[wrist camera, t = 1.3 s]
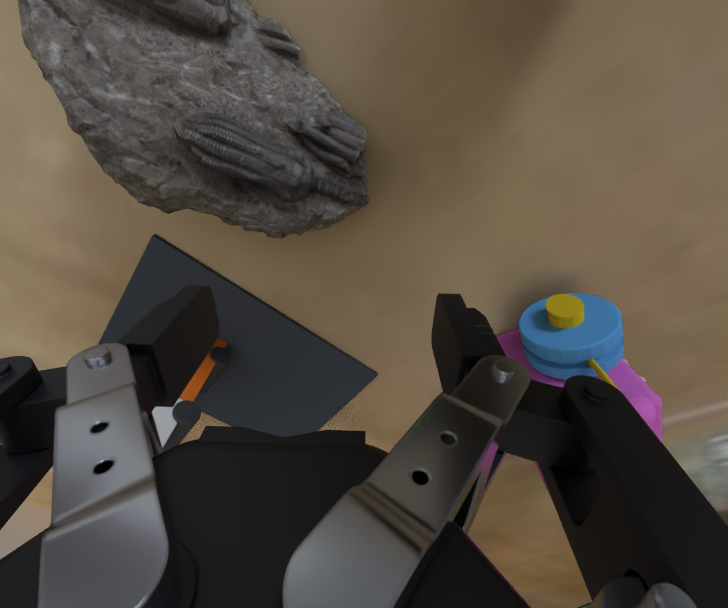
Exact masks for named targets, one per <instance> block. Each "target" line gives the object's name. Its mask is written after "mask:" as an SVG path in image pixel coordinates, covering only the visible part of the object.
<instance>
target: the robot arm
mask: <svg viewBox="0 0 728 608" xmlns="http://www.w3.org/2000/svg"><path fill="white" fill-rule="evenodd" d="M219 330H220V326H219V320H218V315H217V310H216V306H215V301H214V296H213V292H212V289H211V288H210V287H209V286H203V285H185V286H184V287H183V288H182V289H181V290H180V291H179V292H178V293H177V294H176V295H175V296H174V297H173V298H170V299H168V300H166V301H164V302H162V303H160V304H158V305H156V306H155V307H154V308H153V309H152V310H151V311H150V312H149V313H148V314H147V315H145V316H144V317H143V318H142V319H141V320H140V323H137V324H136V325H135V326H134V327H133V328H131V329H130V330H129V331H128V332H127V333H126V334H125V335H124V336H123V337H122V338H121V339H120V340H119V341H117V342H116V343H106V344H101V345H96V346H93V347H90V348H88V349H86V350H83V351H81V352H80V353H78V354H76V355H75V356H74V357H72V358H71V359H70V360H69V362H68V363H67V366H66V367H60V368H54V369H47V370H41V371H38V369H37V368H36V366H35V364H34V362H33V360H32V359H31V358H29V357H25V356H13V357H7V358H3V359H0V443H1V445H0V530H1V529H2V527H3V526H4V525H5V524H6V522H7V521H8V520H9V519H10V517H11V516H12V515H13V514H14V513H15V511H16V510H17V509H18V508H19V506H20V505H21V504H22V503H23V502H24V500H25V499H26V498H27V497H28V495H29V494H30V493H31V492H32V491H33V489H34V488H35V487H36V486H37V484H38V483H39V482H40V481H41V479H42V478H43V477H44V476H45V475H46V473H47V472H48V471H49V470H50V468H51V467H52V466H53V483H52V512H51V513H52V514H51V524H50V527H48V528H47V529H45V530H44V531H42V532H41V533H39V534H38V535H36V536H35V537H34V538H32V539H30V540H29V541H27V542H26V543H25V544H23V545H21V546H20V547H18V548H17V549H16V550H14V551H13V552H11V553H10V554H8V555H7V556H5V557H4V558H2V559H1V560H0V608H531V607H530V606H529V605H528V604H527V603H526V601H525V600H524V599H523V598H522V597H521V596H520V595H519V593H518V592H517V591H516V590H515V589H514V588H513V587H512V586H511V584H510V583H509V582H508V581H507V580H506V579H505V578H504V576H503V575H502V574H501V573H500V572H499V571H498V570H497V569H496V567H495V566H494V565H493V564H492V563H491V562H490V561H489V560H488V558H487V557H486V556H485V555H484V554H483V553H482V552H481V550H480V549H479V548H478V547H477V546H476V545H475V544H474V543H473V541H472V540H471V539H470V538H469V537H468V536H467V534H468V531H469V529H470V527H471V525H472V523H473V520H474V518H475V516H476V513H477V511H478V508H479V506H480V504H481V501H482V499H483V497H484V495H485V493H486V491H487V489H488V488H489V486H490V484H491V482H492V480H493V478H494V476H495V474H496V472H497V470H498V468H499V466H500V464H501V462H502V460H503V458H504V456H505V454H506V453H509V454H512V455H516V456H519V457H522V458H525V459H529V460H532V461H535V462H538V465H539V468H540V470H541V473H542V475H543V478H544V480H545V483H546V485H547V488H548V490H549V493H550V495H551V498H552V500H553V503H554V505H555V508H556V510H557V513H558V515H559V518H560V521H561V523H562V526H563V528H564V531H565V533H566V536H567V538H568V541H569V543H570V546H571V548H572V551H573V553H574V556H575V558H576V561H577V563H578V566H579V568H580V571H581V573H582V576H583V579H584V581H585V584H586V586H587V589H588V591H589V594H590V596H591V599H592V602H591V604H590V605H589V606H588V607H587V608H728V526H727V525H726V523H725V522H724V521H723V520H722V518H721V517H720V516H719V515H718V513H717V512H716V511H715V509H714V508H713V507H712V506H711V504H710V503H709V502H708V501H707V499H706V498H705V497H704V496H703V494H702V493H701V492H700V490H699V489H698V488H697V487H696V485H695V484H694V483H693V482H692V480H691V479H690V478H689V477H688V475H687V474H686V473H685V471H684V470H683V469H682V468H681V466H680V465H679V464H678V463H677V461H676V460H675V459H674V458H673V456H672V455H671V454H670V452H669V451H668V450H667V449H666V447H665V446H664V445H663V444H662V442H661V441H660V440H659V439H658V437H657V436H656V435H655V433H654V432H653V431H652V430H651V428H650V427H649V426H648V425H647V423H646V422H645V421H644V420H643V418H642V417H641V416H640V414H639V413H638V412H637V411H636V409H635V408H634V407H633V406H632V404H631V403H630V402H629V401H628V399H627V398H626V397H625V395H624V394H623V393H622V392H621V391H620V390H618V389H617V388H616V387H614V386H613V385H611V384H609V383H607V382H605V381H603V380H601V379H598V378H595V377H591V376H585V375H576V376H572V377H570V378H568V379H567V380H566V382H565V385H564V387H559V386H555V385H551V384H546V383H542V382H539V381H536V380H533V379H531V375H530V373H529V371H528V370H527V369H526V368H525V367H524V366H523V365H522V364H521V363H519V362H517V361H516V360H513V359H511V358H508V357H507V356H506V354H505V352H504V351H503V349H502V347H501V345H500V343H499V341H498V339H497V338H496V336H495V335H494V332H493V330H492V328H491V327H490V325H489V323H488V321H487V319H486V317H485V316H484V315H483V314H482V313H480V312H479V311H478V310H476V309H475V308H467V307H466V305H465V303H464V301H463V299H462V297H461V295H460V294H441V293H439V294H438V296H437V299H436V306H435V313H434V320H433V327H432V349H433V353H434V357H435V361H436V365H437V369H438V373H439V377H440V381H441V385H442V389H443V392H442V393H440V394H439V395H438V396H437V398H436V399H435V400H434V401H433V402H432V403H431V405H430V406H429V407H428V408H427V409H426V410H425V411H424V413H423V414H422V415H421V416H420V417H419V418H418V420H417V421H416V422H415V423H414V424H413V425H412V427H411V428H410V429H409V430H408V431H407V432H406V434H405V435H404V436H403V437H402V438H401V439H400V441H399V442H398V443H397V444H396V445H395V446H394V448H393V449H392V450H391V451H390V452H389V453H387V452H385V451H384V450H382V449H379V448H377V447H374V446H371V445H368V444H365V431H342V430H323V431H318V432H312V433H306V434H301V435H295V436H289V437H279V436H275V435H272V434H268V433H264V432H261V431H257V430H253V429H249V428H246V427H220V426H206V427H205V429H204V431H203V433H202V435H201V437H200V438H199V439H197V440H193V441H189V442H185V443H182V444H180V445H177V446H174V447H172V448H170V449H168V450H166V451H163V449H162V445H161V441H160V438H159V434H158V430H157V427H156V423H155V419H154V417H153V414H152V411H153V410H154V408H155V407H173V406H174V405H175V403H176V402H177V400H178V399H179V397H180V396H181V394H182V393H183V391H184V390H185V388H186V386H187V385H188V383H189V382H190V380H191V379H192V377H193V376H194V374H195V373H196V371H197V370H198V368H199V367H200V365H201V364H202V362H203V361H204V359H205V358H206V356H207V355H208V353H209V352H210V350H211V349H212V347H213V346H214V344H215V342H216V341H217V339H218V336H219Z"/></svg>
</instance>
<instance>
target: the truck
mask: <svg viewBox="0 0 728 608" xmlns="http://www.w3.org/2000/svg"><path fill="white" fill-rule="evenodd" d="M226 345H227V342H225V341H223V340H221V339H220V338H218V339H217V341H216V342H215V344H214V346H213V347H212V349H211V350H210V352H209V353H208V355H207V356H206V358H205V359H204V361H203V362H202V364H201V365H200V367H199V368H198V370H197V371H196V373H195V374H194V376H193V377H192V379H191V380H190V382H189V383H188V385H187V386H186V388H185V390H184V391H183V393H182V394H181V396H180V397H179V399H178V400H177V402H176V403H175V405H174V406H173V407H155V408H154V410H153V411H152V414H153V417H154V419H155V423H156V427H157V430H158V434H159V438H160V441H161V445H162V449H163V451H166V450H168V449H170V448H172V447H174V446H177V445H179V444H180V442H181V441H182V440H183V439H184V437H185V436H186V435H187V434H188V432H189V431H190V430H191V429H192V427H193V426H194V425H195V424H196V422H197V421H198V420H199V418H200V416H201V410H200V407H199V406H198V405H197V404H196V403H195V402H193V401H194V400H195V398H196V396H197V395H198V394H204V393H206V392H207V391H208V389H209V388H210V387H211V386H212V384H213V383H214V382H215V380H216V379H217V378H218V376H219V375H220V374H221V373H222V371H223V370H224V369H225V367H226V366H227V365H228V363H229V362H230V361H231V354H230V353H229V351H228V350H226V349H225V347H226Z"/></svg>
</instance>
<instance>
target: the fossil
mask: <svg viewBox="0 0 728 608" xmlns="http://www.w3.org/2000/svg"><path fill="white" fill-rule="evenodd" d="M18 4H19V13H20V20H21V25H22V36H23V40H24V44H25V46H26V47H27V48H28V50H29V51H30V54H31V57H32V58H33V59H35V60H36V61H37V64H38V66H39V68H40V69H41V71H42V73H43V78H44V79H45V80H46V81H48V82H49V84H50V85H51V87H52V88H53V90H54V92H55V93H56V95H57V97H58V99H59V100H60V102H61V104H62V106H63V108H64V110H65V113H66V115H67V121H68V125H69V126H70V127H71V129H72V130H73V131H74V132H75V133H77V134H79V135H80V136H81V137H82V138H83V140H84V142H85V143H86V145H87V147H88V149H89V151H90V152H91V154H92V155H93V157H94V158H95V159H96V161H97V162H98V163H99V164H100V166H101V167H102V169H103V171H104V173H106V174H107V175H109V176H111V177H112V178H113V180H114V181H115V182H116V183H118V184H120V185H121V186H122V187H124V188H125V189H126V190H127V191H128V192H129V194H130V195H131V196H132V197H134V198H135V199H136V200H137V201H138V203H142V204H145V205H147V206H152V207H156V208H158V209H160V210H161V211H162V212H164V213H168V214H169V213H172V212H175V211H179V210H183V209H187V208H189V209H191V210H194V211H198V212H201V213H207V214H213V215H215V216H218V217H219V218H220V219H221V220H222V221H223V222H225V223H227V224H229V225H239V226H242V227H243V229H244V230H245V231H258V232H264V233H265V234H266V235H267V237H273V238H284V237H285V236H287V235H289V234H294V233H296V234H298V235H301V234H303V233H305V232H307V231H314V230H321V229H324V228H327V227H330V226H331V225H333V224H334V223H337V222H339V221H341V220H342V219H343V218H345V217H346V216H348V215H350V214H352V213H354V212H356V211H357V210H359V209H360V208H362V207H364V206H366V205H367V204H368V203H369V198H368V195H366V193H367V186H366V183H367V180H366V178H365V177H366V175H367V171H366V160H365V158H364V157H363V156H362V155H363V154H364V149H365V147H366V136H367V131H365V130H363V128H362V125H360V124H359V123H357V122H355V121H354V119H353V118H351V117H350V116H348V115H346V114H344V112H343V110H342V108H341V104H339V103H338V102H337V101H336V100H335V99H334V98H333V97H331V96H330V95H329V93H328V92H327V90H326V89H325V87H324V86H323V85H322V84H321V83H320V82H319V81H318V80H317V79H316V78H315V77H314V76H312V75H311V74H310V73H305V72H304V71H302V70H301V65H300V63H299V62H298V56H299V54H300V52H301V50H300V48H299V47H298V46H297V45H295V44H294V43H293V42H292V39H291V37H290V35H289V33H288V31H287V30H286V29H284V28H281V27H278V26H277V24H276V21H275V20H274V18H271V19H269V20H267V19H265V18H263V17H260V16H256V14H255V12H254V10H253V7H252V6H251V5H250V4H249V3H248V1H247V0H18Z"/></svg>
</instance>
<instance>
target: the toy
mask: <svg viewBox="0 0 728 608" xmlns="http://www.w3.org/2000/svg"><path fill="white" fill-rule="evenodd" d="M622 333H623V325H622V317H621V313H620V311H619V310H618V309H617V308H616V306H615V305H614V304H612V303H610V302H609V301H607V300H606V299H603V298H600V297H598V296H595V295H589V294H581V293H568V294H556V295H553V296H551V297H547V298H544V299H542V300H539V301H537V302H535V303H534V304H532V305H531V306H529V307H528V308H527V309H526V310H525V311H524V312H523V313H522V315H521V317H520V319H519V323H518V330H515V331H512V332H509V333H505V334H502V335H499V336H498V337H497V339H498V341H499V343H500V345H501V347H502V349H503V351H504V352H505V354H506V356H507V357H508V358H511V359H513V360H516V361H517V362H519V363H521V364H522V365H523V366H524V367H525V368H526V369H527V370H528V371H529V373H530V375H531V379H533V380H536V381H539V382H542V383H546V384H551V385H555V386H559V387H564V385H565V382H566V380H567V379H568V378H570V377H572V376H576V375H585V376H591V377H595V378H598V379H601V380H603V381H605V382H607V383H609V384H611V385H613V386H614V387H616V388H617V389H618V390H620V391H621V392H622V393H623V394H624V395H625V397H626V398H627V399H628V401H629V402H630V403H631V404H632V406H633V407H634V408H635V409H636V411H637V412H638V413H639V414H640V416H641V417H642V418H643V420H644V421H645V422H646V423H647V425H648V426H649V427H650V428H651V430H652V431H653V432H654V433H655V435H656V436H657V437H658V439H659V440H660V441H661V442H662V400H661V399H660V397H659V396H658V395H657V394H656V393H655V392H654V391H653V390H652V389H651V388H650V387H649V386H648V385H647V384H646V380H645V378H643V377H640V376H639V375H638V374H637V373H636V372H635V371H634V370H633V369H632V368H631V367H630V366H629V365H628V364H629V363H628V361H627V360H626V359H623V358H622V357H623V353H624V340H623V335H622ZM535 463H536V466H537V468H538V470H539V472H540V475H541V477H542V479H543V481H544V483H545V480H544V478H543V475H542V473H541V470H540V468H539V465H538V462H535ZM545 486H546V488H547V485H546V483H545ZM547 490H548V488H547ZM548 492H549V490H548ZM549 495H550V493H549ZM550 497H551V495H550ZM551 499H552V498H551ZM552 501H553V500H552ZM553 504H554V503H553ZM554 506H555V505H554Z"/></svg>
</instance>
